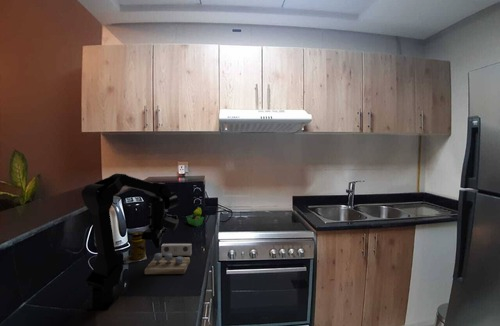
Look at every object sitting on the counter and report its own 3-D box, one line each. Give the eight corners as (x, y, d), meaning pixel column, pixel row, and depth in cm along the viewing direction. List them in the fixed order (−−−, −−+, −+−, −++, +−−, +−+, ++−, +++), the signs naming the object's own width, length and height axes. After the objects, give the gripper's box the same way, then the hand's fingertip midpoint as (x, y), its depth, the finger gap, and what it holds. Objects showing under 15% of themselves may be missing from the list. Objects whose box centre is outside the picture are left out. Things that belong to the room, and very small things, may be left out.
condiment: (147, 258, 101) (147, 233, 101) (126, 263, 97) (126, 237, 96) (144, 252, 108) (144, 229, 107) (125, 257, 103) (124, 232, 102)
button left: (160, 265, 92) (160, 256, 92) (153, 265, 92) (153, 256, 92) (162, 262, 95) (162, 252, 95) (155, 262, 95) (155, 253, 95)
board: (184, 273, 89) (184, 269, 89) (144, 274, 89) (144, 269, 89) (189, 261, 99) (189, 257, 99) (154, 261, 99) (154, 257, 99)
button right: (181, 268, 93) (181, 259, 93) (174, 269, 93) (174, 259, 92) (183, 265, 96) (183, 256, 96) (176, 265, 96) (176, 256, 95)
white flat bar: (190, 255, 105) (190, 245, 105) (161, 255, 104) (161, 245, 104) (191, 253, 107) (191, 243, 107) (162, 253, 107) (162, 243, 106)
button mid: (170, 265, 92) (170, 256, 92) (163, 265, 92) (163, 256, 92) (173, 261, 95) (173, 252, 95) (166, 262, 95) (166, 252, 95)
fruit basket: (185, 223, 152) (185, 207, 152) (196, 220, 159) (196, 205, 158) (195, 227, 145) (195, 210, 144) (206, 224, 152) (206, 208, 151)
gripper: (169, 218, 84) (169, 258, 84) (182, 206, 102) (182, 239, 103) (140, 218, 83) (140, 258, 84) (158, 206, 102) (158, 239, 102)
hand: (157, 247), depth 93 cm, fingers closed
